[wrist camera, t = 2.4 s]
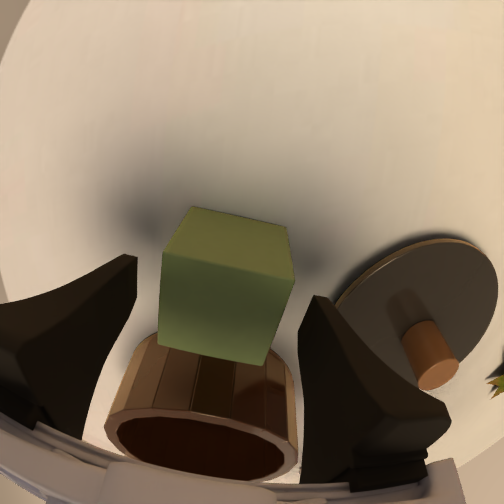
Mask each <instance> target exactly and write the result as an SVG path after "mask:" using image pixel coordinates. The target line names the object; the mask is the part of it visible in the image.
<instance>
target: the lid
mask: <svg viewBox="0 0 504 504" xmlns="http://www.w3.org/2000/svg"><path fill="white" fill-rule="evenodd" d="M497 298H498V281H497V276H496V272H495V269H494V267H493V265H492V263H491V261H490V260H489V259H488V258H487V256H486V255H485V254H484V253H483V252H482V251H480V250H479V249H478V248H477V247H475V246H473V245H472V244H470V243H468V242H465V241H461V240H457V239H446V238H444V239H432V240H427V241H423V242H418V243H416V244H413V245H410V246H407V247H405V248H402V249H400V250H398V251H396V252H394V253H392V254H390V255H389V256H387V257H385V258H384V259H382V260H380V261H379V262H377V263H376V264H375V265H373V266H372V267H371V268H369V269H368V270H367V271H365V272H364V273H363V274H362V275H361V276H360V277H359V278H357V279H356V280H355V281H354V282H353V283H352V284H351V285H350V286H349V287H348V289H347V290H346V291H345V292H344V293H343V294H342V295H341V297H340V298H339V299H338V301H337V302H336V304H335V305H334V306H335V307H336V309H337V310H338V311H339V312H340V314H341V315H342V316H343V317H344V319H345V320H346V321H347V323H348V324H349V325H350V326H351V328H352V329H353V330H354V331H355V332H356V334H357V335H358V336H359V337H360V338H361V339H362V341H363V342H364V343H365V344H366V345H367V346H368V347H369V348H370V349H371V350H372V351H373V352H374V353H375V354H376V355H377V356H378V357H379V358H380V359H381V360H382V361H383V362H384V363H385V364H386V365H388V366H389V367H390V368H391V369H392V370H394V371H395V372H396V373H397V374H399V375H400V376H401V377H402V378H404V379H405V380H407V381H408V382H409V383H411V384H412V385H414V386H415V387H417V388H420V389H422V390H432V389H435V388H438V387H440V386H442V385H443V384H445V383H446V382H448V381H449V380H450V379H451V378H452V377H453V376H454V375H455V373H456V372H457V370H458V367H459V363H460V362H461V361H462V360H463V359H464V358H466V356H467V355H468V354H469V353H470V352H471V351H472V350H473V349H474V347H475V346H476V345H477V344H478V342H479V341H480V339H481V338H482V336H483V335H484V333H485V332H486V330H487V328H488V326H489V324H490V322H491V319H492V317H493V314H494V311H495V308H496V304H497Z"/></svg>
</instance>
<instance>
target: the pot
mask: <svg viewBox="0 0 504 504" xmlns="http://www.w3.org/2000/svg"><path fill="white" fill-rule="evenodd" d="M157 341H158V333H155V334H153V335H151V336H149V337H147V338H146V339H145V340H144V341H142V342H141V343H140V344H139V345H138V347H137V348H136V349H135V351H134V353H133V355H132V358H131V360H130V362H129V364H128V367H127V369H126V371H125V374H124V376H123V379H122V381H121V383H120V386H119V388H118V391H117V393H116V396H115V398H114V401H113V403H112V406H111V409H110V411H109V414H108V416H107V419H106V422H105V424H104V429H105V432H106V434H107V437H108V439H109V440H110V441H111V442H112V443H113V444H114V445H115V447H116V448H117V449H118V450H119V451H121V452H122V453H124V454H125V455H127V456H128V457H129V458H131V459H135V460H138V461H142V462H145V463H149V464H153V465H157V466H161V467H165V468H169V469H173V470H178V471H183V472H187V473H193V474H198V475H204V476H210V477H216V478H224V479H231V480H240V481H250V482H263V481H268V480H272V479H274V478H277V477H279V476H281V475H284V474H286V473H288V472H289V471H290V470H291V469H292V468H293V467H294V466H295V465H296V464H297V462H298V437H297V422H296V407H295V393H294V381H293V379H292V374H291V372H290V370H289V368H288V366H287V365H286V363H285V362H284V361H283V360H282V359H281V358H280V357H279V356H278V355H277V354H276V353H275V352H274V351H272V350H271V349H270V348H269V351H268V354H267V356H266V359H265V361H264V363H263V365H262V366H259V365H253V364H247V363H242V362H236V361H231V360H226V359H220V358H215V357H211V356H206V355H201V354H197V353H192V352H188V351H184V350H179V349H175V348H171V347H167V346H163V345H159V344H158V342H157Z"/></svg>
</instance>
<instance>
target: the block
mask: <svg viewBox="0 0 504 504" xmlns="http://www.w3.org/2000/svg"><path fill="white" fill-rule="evenodd" d="M294 283H295V277H294V271H293V265H292V258H291V252H290V246H289V240H288V234H287V229H286V227H283V226H279V225H274V224H270V223H266V222H261V221H257V220H252V219H248V218H244V217H239V216H235V215H230V214H225V213H221V212H216V211H212V210H207V209H202V208H197V207H193V206H192V207H191V208H190V209H189V211H188V213H187V214H186V216H185V217H184V219H183V220H182V222H181V224H180V225H179V227H178V228H177V230H176V232H175V233H174V235H173V236H172V238H171V240H170V241H169V243H168V244H167V246H166V248H165V249H164V251H163V255H162V267H161V280H160V295H159V314H158V341H157V342H158V344H159V345H163V346H167V347H171V348H175V349H179V350H184V351H188V352H192V353H197V354H201V355H206V356H211V357H215V358H220V359H226V360H231V361H236V362H242V363H247V364H253V365H259V366H262V365H263V363H264V361H265V359H266V356H267V354H268V351H269V348H270V346H271V343H272V341H273V338H274V336H275V333H276V331H277V328H278V325H279V323H280V320H281V318H282V315H283V312H284V310H285V307H286V304H287V302H288V299H289V296H290V293H291V291H292V288H293V285H294Z"/></svg>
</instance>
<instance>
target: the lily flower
mask: <svg viewBox="0 0 504 504" xmlns="http://www.w3.org/2000/svg"><path fill="white" fill-rule="evenodd" d="M487 384H493V385H495V384H496V386H499V387H498V389H497V391H496V392H495V394H494V396H493V397H495V396H497V395H499V394H500V393H502V392H504V374H503V375H502V376H500V377H498V378H496V379H494V380H493V381H491V382H489V383H487ZM493 397H492V398H493ZM492 398H491V399H492Z"/></svg>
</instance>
